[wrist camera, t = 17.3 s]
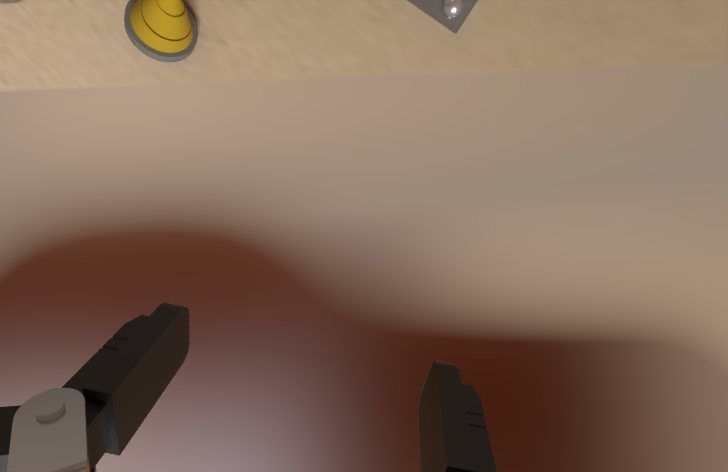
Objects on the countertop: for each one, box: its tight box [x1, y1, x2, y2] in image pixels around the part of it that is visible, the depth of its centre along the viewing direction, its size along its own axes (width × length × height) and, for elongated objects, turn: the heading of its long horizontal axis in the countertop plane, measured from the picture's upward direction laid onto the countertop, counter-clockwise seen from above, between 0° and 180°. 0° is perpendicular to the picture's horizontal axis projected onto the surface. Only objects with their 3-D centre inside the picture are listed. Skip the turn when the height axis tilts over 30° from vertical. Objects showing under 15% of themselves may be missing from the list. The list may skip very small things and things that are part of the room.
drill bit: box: [124, 0, 198, 62], centre depth 32 cm, size 5×5×10 cm
